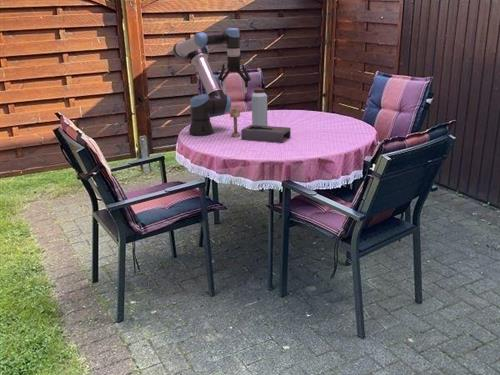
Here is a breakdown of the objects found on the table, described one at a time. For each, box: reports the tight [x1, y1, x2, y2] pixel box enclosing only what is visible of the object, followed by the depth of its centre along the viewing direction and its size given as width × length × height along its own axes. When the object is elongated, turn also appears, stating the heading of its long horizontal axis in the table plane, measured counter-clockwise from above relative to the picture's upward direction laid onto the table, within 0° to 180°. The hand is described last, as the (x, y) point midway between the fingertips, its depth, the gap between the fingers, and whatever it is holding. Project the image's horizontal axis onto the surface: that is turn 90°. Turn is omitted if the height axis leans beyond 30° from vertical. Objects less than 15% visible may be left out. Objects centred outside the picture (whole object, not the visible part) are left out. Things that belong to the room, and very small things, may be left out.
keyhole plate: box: [240, 124, 292, 144], centre depth 304 cm, size 26×14×6 cm, turn 66°
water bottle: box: [251, 88, 269, 126], centre depth 327 cm, size 10×10×25 cm
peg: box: [229, 107, 241, 138], centre depth 310 cm, size 5×5×17 cm
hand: (234, 92), depth 304 cm, fingers open, 13 cm apart
